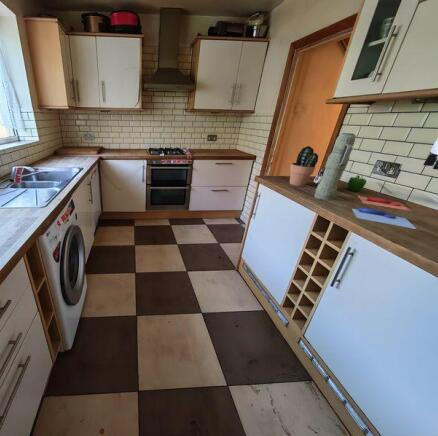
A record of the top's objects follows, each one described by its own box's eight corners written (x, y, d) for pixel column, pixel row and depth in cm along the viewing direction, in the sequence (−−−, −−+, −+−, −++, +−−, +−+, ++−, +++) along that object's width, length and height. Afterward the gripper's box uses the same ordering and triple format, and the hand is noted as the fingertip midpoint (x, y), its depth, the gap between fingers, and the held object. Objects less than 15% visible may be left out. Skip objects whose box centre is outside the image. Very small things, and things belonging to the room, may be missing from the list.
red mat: (404, 204, 125) (404, 203, 124) (413, 212, 115) (413, 211, 114) (357, 196, 134) (357, 196, 134) (362, 203, 124) (362, 202, 123)
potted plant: (284, 184, 153) (295, 146, 142) (286, 180, 163) (297, 144, 152) (308, 188, 146) (322, 148, 135) (309, 183, 156) (322, 146, 145)
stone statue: (321, 201, 125) (347, 134, 110) (309, 194, 135) (331, 132, 120) (338, 202, 124) (366, 134, 109) (324, 195, 135) (348, 132, 120)
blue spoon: (393, 216, 108) (395, 212, 107) (396, 219, 104) (399, 215, 103) (356, 209, 114) (358, 205, 113) (358, 212, 111) (360, 208, 110)
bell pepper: (353, 188, 149) (360, 173, 145) (364, 192, 141) (372, 177, 137) (341, 188, 149) (347, 173, 144) (352, 192, 141) (358, 176, 137)
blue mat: (405, 219, 106) (405, 218, 106) (416, 230, 96) (417, 229, 96) (351, 209, 116) (351, 208, 115) (356, 218, 105) (356, 217, 105)
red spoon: (398, 204, 123) (400, 200, 122) (401, 207, 119) (403, 203, 118) (365, 199, 129) (367, 195, 128) (367, 201, 126) (369, 197, 125)
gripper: (480, 130, 90) (454, 172, 98) (456, 128, 104) (435, 165, 111) (452, 128, 94) (429, 169, 101) (433, 127, 107) (414, 163, 115)
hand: (432, 167), depth 106 cm, fingers open, 9 cm apart
